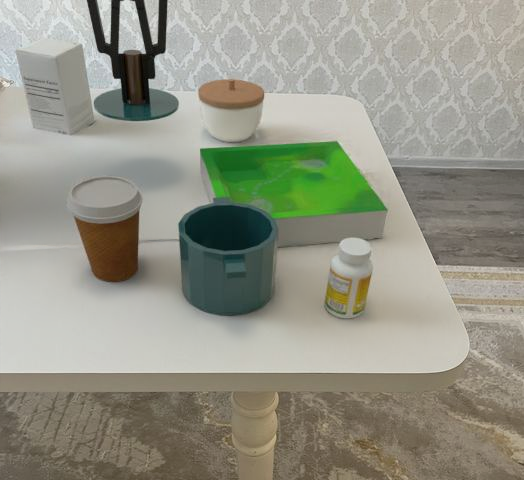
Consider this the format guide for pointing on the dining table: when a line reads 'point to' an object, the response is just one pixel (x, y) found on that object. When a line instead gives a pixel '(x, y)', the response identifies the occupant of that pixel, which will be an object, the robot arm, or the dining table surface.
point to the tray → (297, 190)
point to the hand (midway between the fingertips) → (136, 99)
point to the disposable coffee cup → (108, 224)
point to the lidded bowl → (231, 108)
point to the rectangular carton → (56, 85)
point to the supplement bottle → (349, 278)
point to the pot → (228, 257)
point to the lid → (135, 96)
